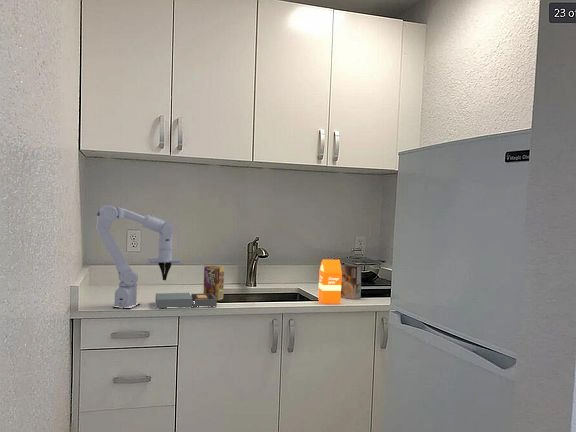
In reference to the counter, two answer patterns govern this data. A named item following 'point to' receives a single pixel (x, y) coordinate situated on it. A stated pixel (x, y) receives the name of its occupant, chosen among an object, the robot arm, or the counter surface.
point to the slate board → (173, 300)
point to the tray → (204, 300)
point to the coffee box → (351, 281)
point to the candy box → (214, 281)
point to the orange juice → (330, 281)
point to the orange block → (201, 297)
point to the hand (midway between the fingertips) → (164, 279)
